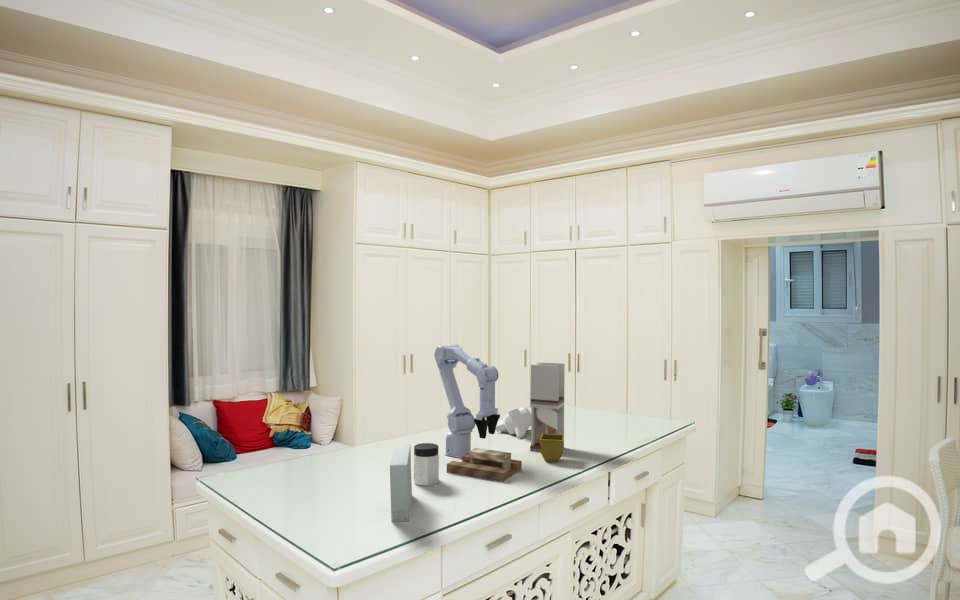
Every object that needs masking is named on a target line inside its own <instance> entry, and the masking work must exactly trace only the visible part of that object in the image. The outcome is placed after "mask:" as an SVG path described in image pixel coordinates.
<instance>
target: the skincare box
mask: <svg viewBox="0 0 960 600" xmlns="http://www.w3.org/2000/svg"><path fill="white" fill-rule="evenodd" d="M411 449H412V448H411V444H395V445H394V448H393V451H392V454H391V455H392V456H391V460H390V463H389V479H390V480H389V481H390V482H389V485H390V489H389V490H390V515H391V518H390V519H391V521H390V522H391V523H394V522H395V523H396V522H399V523H400V522H409V521H410V517H411V506H412V496H413V484H412V465H411V464H412V454H411V453H412V451H411Z"/></svg>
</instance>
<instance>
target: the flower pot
mask: <svg viewBox="0 0 960 600" xmlns="http://www.w3.org/2000/svg"><path fill="white" fill-rule="evenodd" d="M563 444H564V445H565V434H564V435H557V434H542V435H541V438H540V445H541V452H540V453H541V456H542V459H543V460H544V461H545V462H552V463H553V462H554V463H559V462H560V460H561V458H562V454H563V449H564V448H563Z"/></svg>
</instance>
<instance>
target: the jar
mask: <svg viewBox="0 0 960 600" xmlns="http://www.w3.org/2000/svg"><path fill="white" fill-rule="evenodd" d="M439 461H440V457H439V445H438V444H436V443H433V442H432V443H431V442H424V443H417V444H415V445H414V448H413V482H414V484H415V485H417V486H425V487H428V486H433V485H436V484H439V482H440V481H439V480H440V479H439V476H440V475H439V473H440V472H439V471H440V470H439V469H440V467H439V466H440V462H439Z"/></svg>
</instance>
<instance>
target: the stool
mask: <svg viewBox="0 0 960 600" xmlns="http://www.w3.org/2000/svg"><path fill="white" fill-rule="evenodd" d="M479 459H484V460H490V461H497V462H502V468H503V469H509V471H510V470H511V459H512V452H507V451H501V450H500V451H499V450H492V449H487V448H486V449H485V448H479V447H475V448H473V449H471V451H469V463H471V464H477V465H479Z"/></svg>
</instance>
